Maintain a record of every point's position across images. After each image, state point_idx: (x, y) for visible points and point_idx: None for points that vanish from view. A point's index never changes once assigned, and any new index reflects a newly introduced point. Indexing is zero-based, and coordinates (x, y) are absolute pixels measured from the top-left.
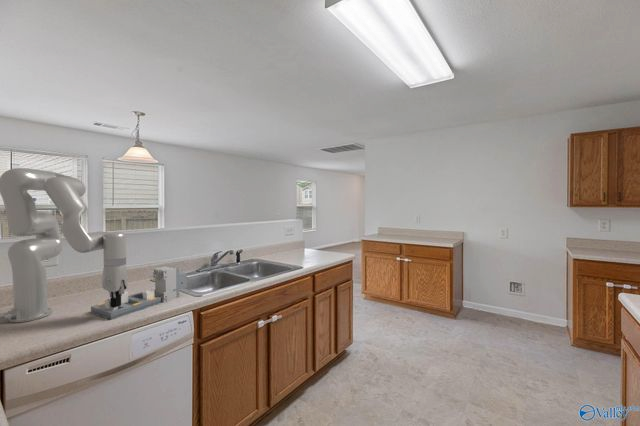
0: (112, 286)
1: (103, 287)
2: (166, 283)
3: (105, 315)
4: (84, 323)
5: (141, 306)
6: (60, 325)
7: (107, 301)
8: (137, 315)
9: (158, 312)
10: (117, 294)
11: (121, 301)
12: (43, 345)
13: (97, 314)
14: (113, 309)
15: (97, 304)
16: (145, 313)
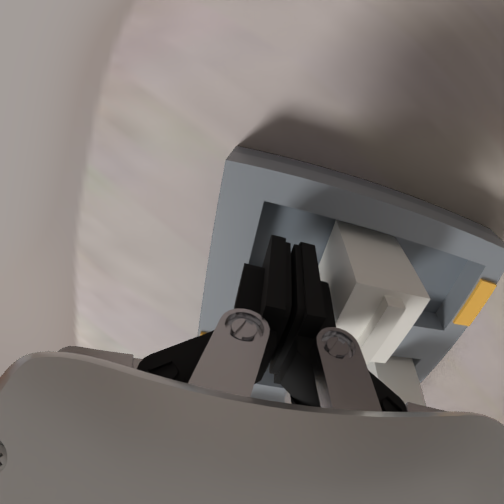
0: (55, 491)
1: (487, 440)
2: None
3: (325, 172)
4: (387, 45)
5: None
6: (499, 22)
7: (380, 285)
8: (131, 255)
9: (81, 307)
10: (158, 355)
11: (369, 365)
12: None
13: (432, 205)
14: (325, 259)
15: (492, 288)
16: (121, 288)
